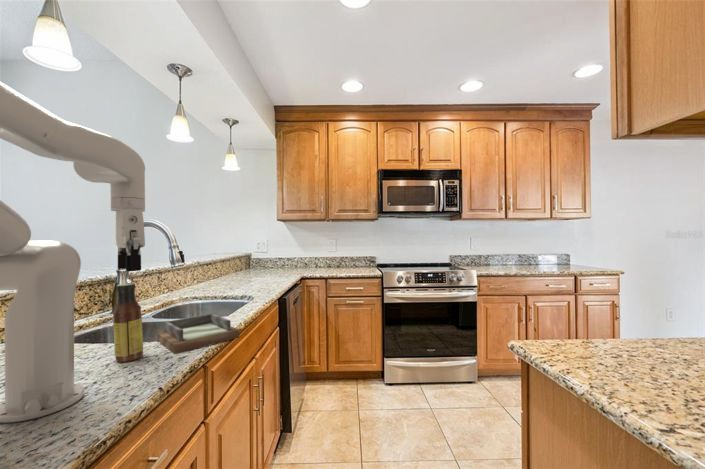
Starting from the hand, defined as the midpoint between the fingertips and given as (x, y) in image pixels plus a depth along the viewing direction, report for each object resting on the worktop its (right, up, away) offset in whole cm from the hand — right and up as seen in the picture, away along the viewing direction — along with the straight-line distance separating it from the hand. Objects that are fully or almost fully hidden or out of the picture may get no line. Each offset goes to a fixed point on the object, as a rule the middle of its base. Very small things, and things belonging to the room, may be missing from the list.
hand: (129, 269), depth 85 cm
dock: (+11, -24, +15) cm, 30 cm away
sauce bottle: (0, -24, -1) cm, 24 cm away
